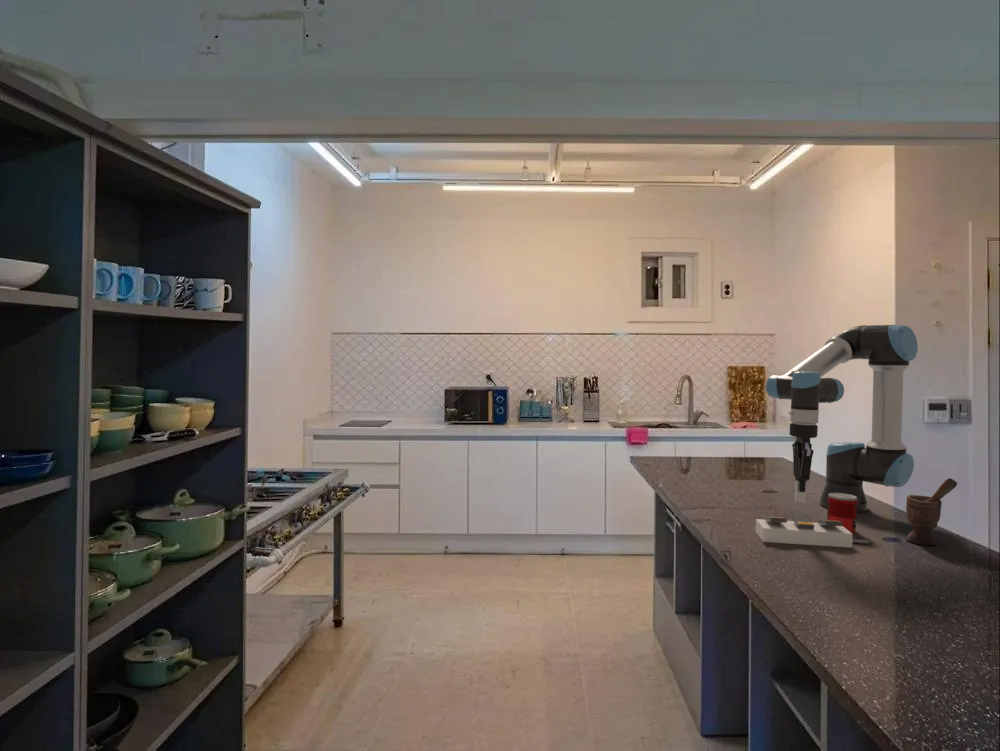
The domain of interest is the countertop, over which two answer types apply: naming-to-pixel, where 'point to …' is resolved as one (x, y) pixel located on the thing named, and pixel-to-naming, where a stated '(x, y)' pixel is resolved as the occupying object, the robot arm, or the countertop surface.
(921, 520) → the mortar and pestle
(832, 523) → the rocker
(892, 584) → the countertop surface
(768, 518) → the block
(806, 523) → the rocker middle
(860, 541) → the rocker switch panel
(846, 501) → the canned food
